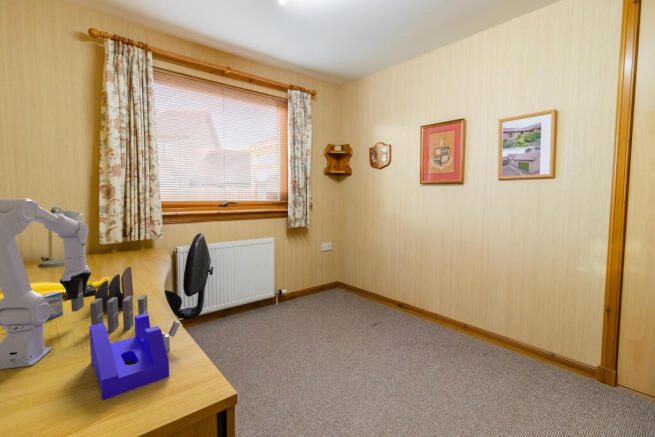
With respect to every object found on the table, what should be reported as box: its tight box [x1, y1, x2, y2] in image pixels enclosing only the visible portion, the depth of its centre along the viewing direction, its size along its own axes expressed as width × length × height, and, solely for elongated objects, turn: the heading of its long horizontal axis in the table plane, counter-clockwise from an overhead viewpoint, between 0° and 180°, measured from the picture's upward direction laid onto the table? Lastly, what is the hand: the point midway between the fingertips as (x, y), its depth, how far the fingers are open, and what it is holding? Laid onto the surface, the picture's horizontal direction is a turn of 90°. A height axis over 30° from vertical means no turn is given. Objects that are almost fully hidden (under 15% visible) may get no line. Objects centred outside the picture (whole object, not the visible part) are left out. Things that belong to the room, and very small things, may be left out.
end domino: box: [137, 294, 149, 315], centre depth 108 cm, size 5×2×10 cm, turn 17°
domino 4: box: [122, 296, 135, 331], centre depth 107 cm, size 5×2×10 cm, turn 17°
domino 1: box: [70, 279, 85, 313], centre depth 107 cm, size 5×2×10 cm, turn 18°
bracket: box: [88, 313, 170, 401], centre depth 81 cm, size 21×14×10 cm, turn 42°
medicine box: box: [42, 291, 64, 321], centre depth 114 cm, size 8×4×9 cm, turn 168°
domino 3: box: [106, 297, 120, 333], centre depth 105 cm, size 5×2×10 cm, turn 17°
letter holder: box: [94, 266, 134, 313], centre depth 129 cm, size 10×20×14 cm, turn 24°
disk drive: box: [64, 284, 97, 301], centre depth 142 cm, size 10×3×15 cm
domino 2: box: [89, 298, 104, 326], centre depth 104 cm, size 5×2×10 cm, turn 17°
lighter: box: [162, 320, 181, 352], centre depth 91 cm, size 7×2×8 cm, turn 126°
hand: (77, 296), depth 107 cm, fingers closed on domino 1, 5 cm apart
